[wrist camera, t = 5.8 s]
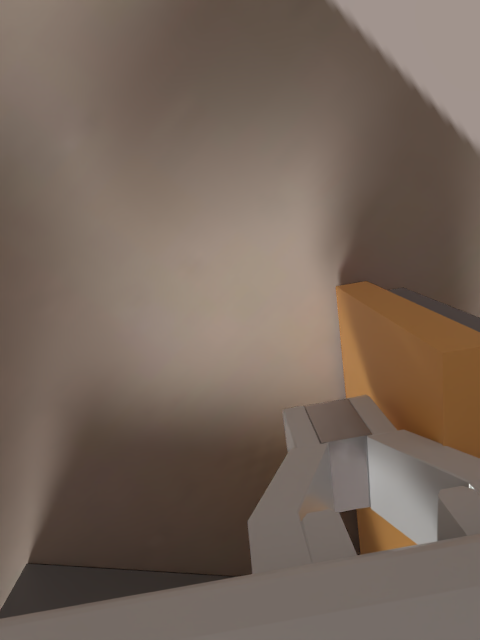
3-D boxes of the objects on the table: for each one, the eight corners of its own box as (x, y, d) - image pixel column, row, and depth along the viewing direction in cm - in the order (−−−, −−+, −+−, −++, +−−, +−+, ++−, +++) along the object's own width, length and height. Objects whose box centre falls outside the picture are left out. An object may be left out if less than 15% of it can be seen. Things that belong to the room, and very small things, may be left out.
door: (406, 579, 15) (517, 799, 10) (363, 586, 15) (448, 809, 10) (391, 277, 12) (550, 334, 6) (335, 286, 12) (442, 353, 6)
